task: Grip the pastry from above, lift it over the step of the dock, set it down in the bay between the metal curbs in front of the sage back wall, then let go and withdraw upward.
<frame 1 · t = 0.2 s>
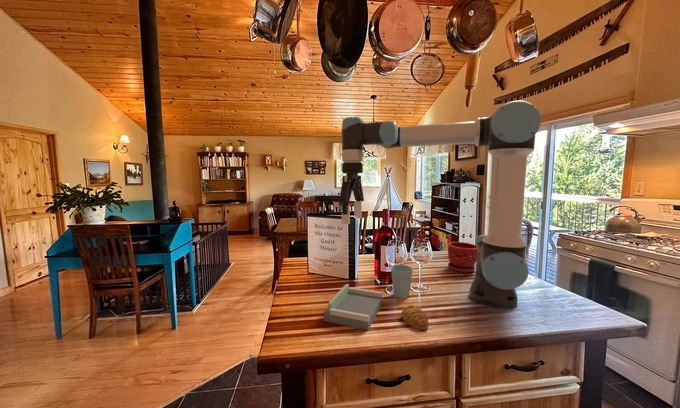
hand: (352, 220, 103), 28 cm above the kitchen island, tool pointing down, fingers open, 13 cm apart
pastry: (415, 322, 85), on the kitchen island
dock: (355, 311, 91), on the kitchen island
plant pot: (462, 269, 132), on the kitchen island
cup: (401, 295, 104), on the kitchen island
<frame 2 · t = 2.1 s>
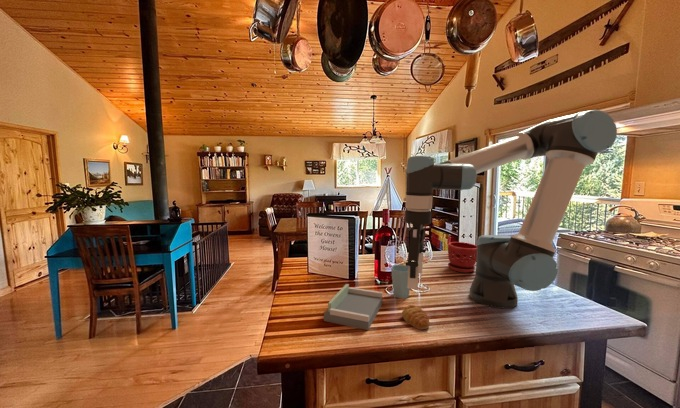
hand: (415, 280, 84), 13 cm above the kitchen island, tool pointing down, fingers open, 13 cm apart
nothing on the kitchen island moved.
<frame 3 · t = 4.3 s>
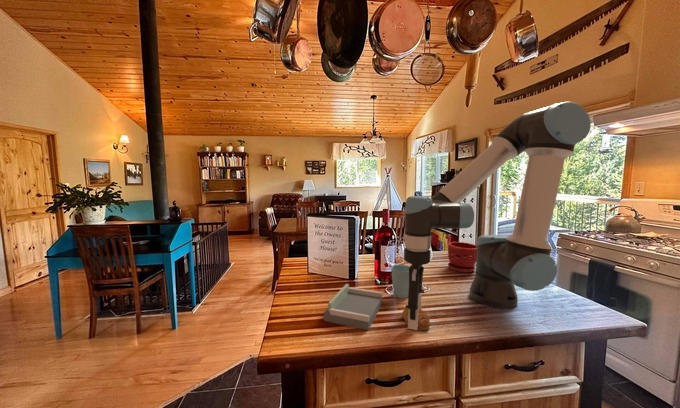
hand: (414, 320, 85), 0 cm above the kitchen island, tool pointing down, fingers open, 9 cm apart
nothing on the kitchen island moved.
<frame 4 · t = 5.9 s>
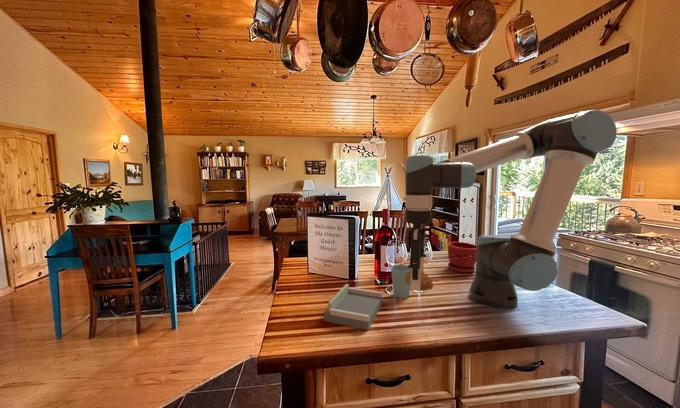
hand: (417, 283, 84), 12 cm above the kitchen island, tool pointing down, fingers closed on pastry, 9 cm apart
pastry: (419, 285, 84), point 11 cm above the kitchen island, touching gripper
everything else where it was.
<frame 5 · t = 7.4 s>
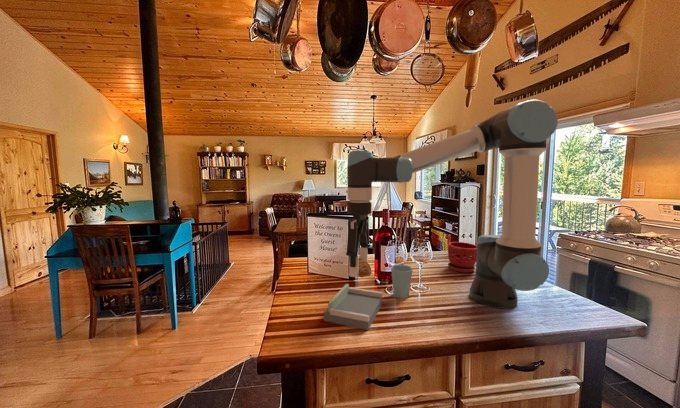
hand: (358, 271, 89), 14 cm above the kitchen island, tool pointing down, fingers closed on pastry, 9 cm apart
pastry: (360, 273, 89), point 13 cm above the kitchen island, touching gripper
everything else where it was.
when the fingers open (4 cm above the kitchen island, at t = 10.1 s): pastry drops 1 cm, resting on dock.
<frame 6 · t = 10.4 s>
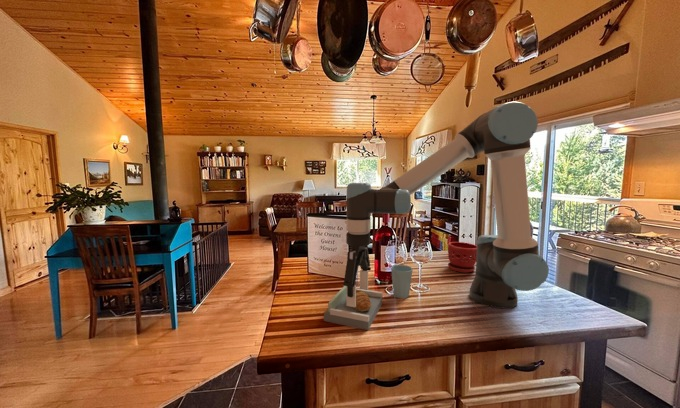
hand: (358, 297, 90), 5 cm above the kitchen island, tool pointing down, fingers open, 13 cm apart
pastry: (360, 305, 90), point 2 cm above the kitchen island, touching dock
everything else where it was.
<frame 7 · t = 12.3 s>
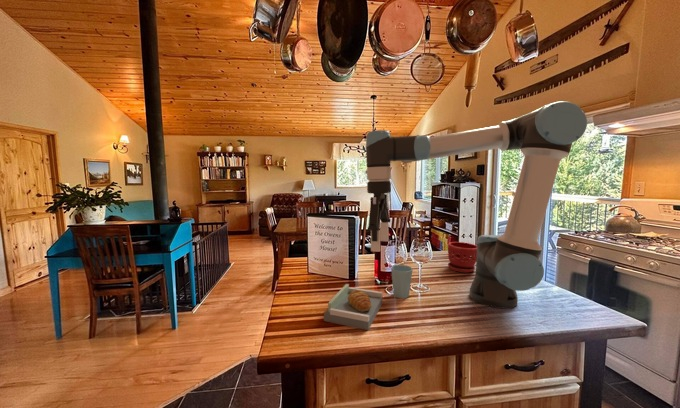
hand: (380, 245, 92), 21 cm above the kitchen island, tool pointing down, fingers open, 13 cm apart
nothing on the kitchen island moved.
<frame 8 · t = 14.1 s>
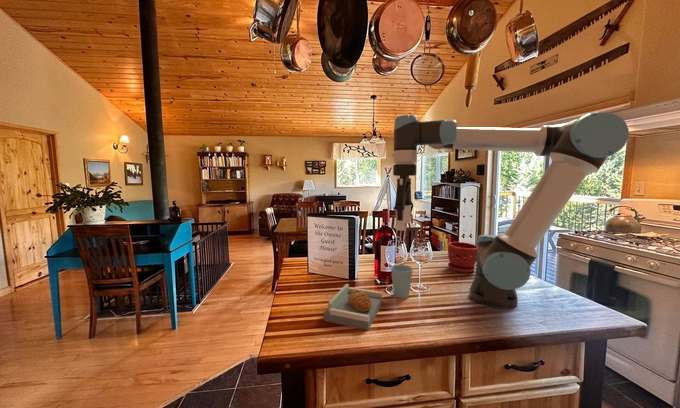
hand: (403, 226, 96), 27 cm above the kitchen island, tool pointing down, fingers open, 13 cm apart
nothing on the kitchen island moved.
at the end: pastry inside the target area on the dock (1.7 cm from its centre), point 2.3 cm above the dock's base; pastry tilted 0°; the gripper is holding nothing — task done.
